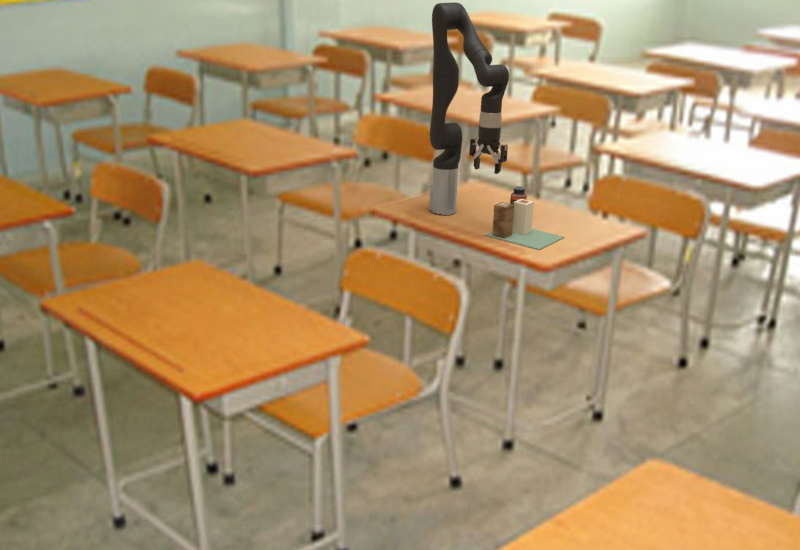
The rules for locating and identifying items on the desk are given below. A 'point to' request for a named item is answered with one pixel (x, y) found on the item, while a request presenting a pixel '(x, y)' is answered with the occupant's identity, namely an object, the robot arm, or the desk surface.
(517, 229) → the cream block
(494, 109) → the robot arm
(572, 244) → the desk surface
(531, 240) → the cutting mat
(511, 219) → the walnut block
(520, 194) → the supplement bottle
